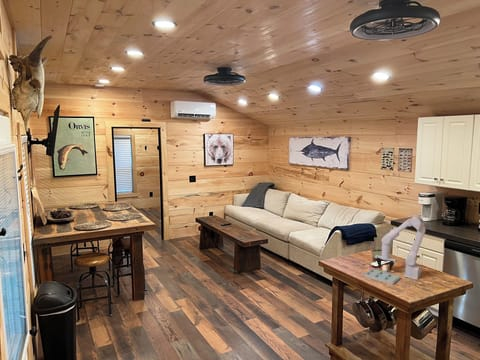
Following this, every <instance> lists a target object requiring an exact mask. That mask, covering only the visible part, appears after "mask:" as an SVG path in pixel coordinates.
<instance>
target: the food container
mask: <svg viewBox="0 0 480 360" xmlns="http://www.w3.org/2000/svg"><path fill="white" fill-rule="evenodd" d="M370 251H371V253H372V255H371V256H372V262H375V263H377V262H376V259H377V258H375V256H376V255H379V256H382V247H378V246H377V247H372V248H371V250H370ZM382 261H385V262H386V260H382Z"/></svg>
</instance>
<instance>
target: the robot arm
mask: <svg viewBox="0 0 480 360" xmlns="http://www.w3.org/2000/svg"><path fill="white" fill-rule="evenodd" d="M408 227H413V228H415V229H416V234H415V237H414V240H413V242H412V246H411V249H410V251H409V253H408V255H407V257H406V258H405V269H404V274H403V275H402V276H403V277H405V278H408V279H412V280H414V281H415V280H416V281H417V280H419V279H420V277H421V266H420V265H418V264H417V260H418V254H419V251H420V247H421V244H422V242H423V239H424V236H425V233H426V226H425V223H424V219H423V218H422V217H421V216H420V215H418V214H414V215H413V216H412V217H409V218H408V219H407V220H405V221H404V222H403V223H402V224H400V225H399V226H398V227H397V228H392V229H390V231H389V232H388V233H385V235H384V236H383V237H382V238H381V248H382V256H379V255H376V256H375V258H377V259H376V261H377V262H376V263H377V265H378V270H379V269H382V262H381V261H382V260H385V261H387V262H388V264H389V265H388V272H392V269H393V266H394V264H395V263H397V259H396V258H392V257H391V242H393V241H395V239H396V238H398V237H399V236H400V233H401V232H402V231H404V230H405V229H406V228H408Z"/></svg>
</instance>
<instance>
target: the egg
mask: <svg viewBox="0 0 480 360" xmlns="http://www.w3.org/2000/svg"><path fill="white" fill-rule="evenodd" d="M381 271H383V272H387V273H389V265H387V264H382V265H381Z"/></svg>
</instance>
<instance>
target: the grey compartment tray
mask: <svg viewBox="0 0 480 360" xmlns="http://www.w3.org/2000/svg"><path fill="white" fill-rule="evenodd" d="M363 277H364V278H367V279H371V280H374V281H379V282H381V283H383V284H384V283H385V284H389V285H392V286H393V285H394V284H396V283H397V282H398V281H400V279H401V276H400V275H397V274H394V273H391V272H383V271H382V270H379V269H375V268H372V269H370V270H368V271H367V272H364V276H363Z"/></svg>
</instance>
